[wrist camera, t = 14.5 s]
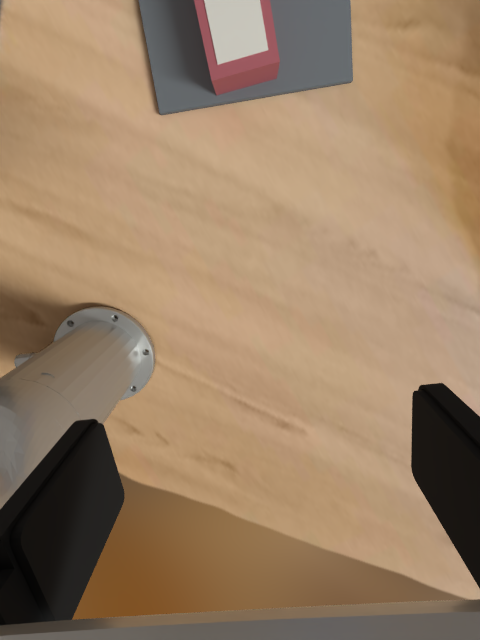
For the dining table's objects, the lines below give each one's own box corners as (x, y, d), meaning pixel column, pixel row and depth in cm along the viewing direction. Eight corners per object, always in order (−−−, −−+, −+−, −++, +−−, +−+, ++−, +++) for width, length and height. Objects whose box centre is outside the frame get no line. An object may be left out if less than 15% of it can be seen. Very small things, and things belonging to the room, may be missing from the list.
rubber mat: (161, 115, 34) (159, 113, 34) (134, -27, 31) (132, -32, 30) (351, 82, 33) (352, 80, 32) (346, -71, 29) (347, -77, 29)
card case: (192, -17, 30) (183, -51, 26) (257, -38, 30) (257, -75, 26) (216, 95, 33) (211, 80, 29) (276, 78, 32) (279, 60, 29)
